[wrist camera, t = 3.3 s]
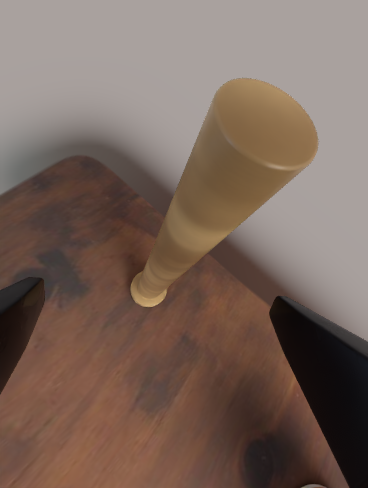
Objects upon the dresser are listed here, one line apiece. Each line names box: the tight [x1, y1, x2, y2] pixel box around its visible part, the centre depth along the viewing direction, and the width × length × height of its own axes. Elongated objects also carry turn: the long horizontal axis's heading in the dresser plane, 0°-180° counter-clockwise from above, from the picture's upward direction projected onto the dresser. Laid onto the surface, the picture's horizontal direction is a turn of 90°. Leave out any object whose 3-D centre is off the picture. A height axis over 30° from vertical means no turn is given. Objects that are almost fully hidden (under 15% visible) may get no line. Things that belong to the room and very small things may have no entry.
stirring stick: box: [130, 78, 318, 307], centre depth 11 cm, size 3×3×16 cm
